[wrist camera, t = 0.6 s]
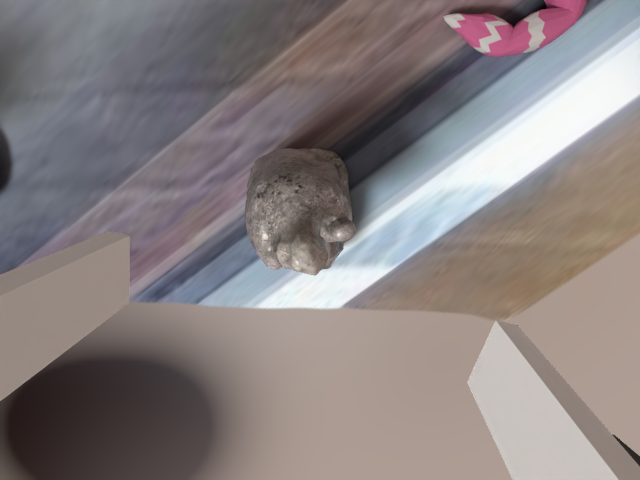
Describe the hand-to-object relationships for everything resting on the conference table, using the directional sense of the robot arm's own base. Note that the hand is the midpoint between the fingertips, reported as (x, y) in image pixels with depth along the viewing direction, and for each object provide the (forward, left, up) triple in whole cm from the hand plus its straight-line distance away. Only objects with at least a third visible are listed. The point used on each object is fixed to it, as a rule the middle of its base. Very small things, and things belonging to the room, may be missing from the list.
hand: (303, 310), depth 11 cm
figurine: (+1, -3, -25) cm, 25 cm away
